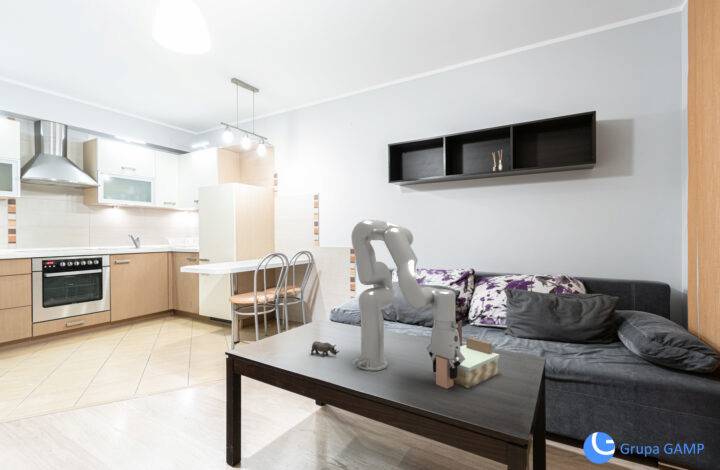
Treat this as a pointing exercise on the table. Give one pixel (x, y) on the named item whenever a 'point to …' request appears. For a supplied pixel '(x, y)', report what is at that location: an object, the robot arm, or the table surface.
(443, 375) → the salmon rectangular block
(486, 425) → the table surface
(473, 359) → the lid
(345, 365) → the table surface
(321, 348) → the rhino figurine
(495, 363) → the tan wooden low box
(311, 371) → the table surface
